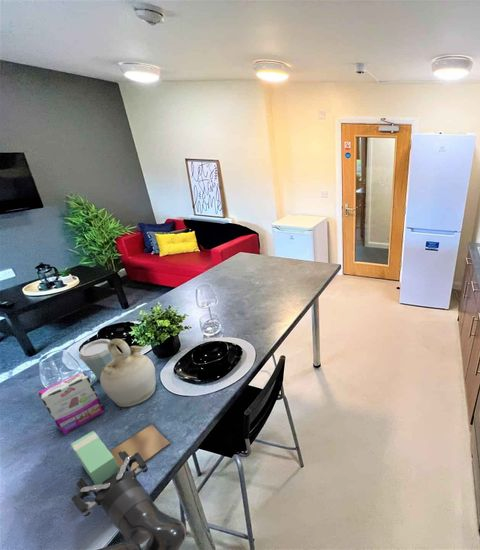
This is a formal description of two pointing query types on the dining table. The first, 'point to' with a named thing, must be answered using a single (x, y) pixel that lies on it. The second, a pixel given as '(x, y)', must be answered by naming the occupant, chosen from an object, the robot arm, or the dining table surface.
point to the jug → (128, 375)
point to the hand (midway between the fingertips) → (101, 466)
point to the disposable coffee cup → (96, 356)
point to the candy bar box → (71, 402)
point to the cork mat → (141, 445)
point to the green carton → (95, 458)
